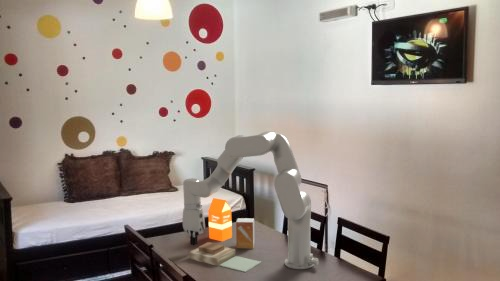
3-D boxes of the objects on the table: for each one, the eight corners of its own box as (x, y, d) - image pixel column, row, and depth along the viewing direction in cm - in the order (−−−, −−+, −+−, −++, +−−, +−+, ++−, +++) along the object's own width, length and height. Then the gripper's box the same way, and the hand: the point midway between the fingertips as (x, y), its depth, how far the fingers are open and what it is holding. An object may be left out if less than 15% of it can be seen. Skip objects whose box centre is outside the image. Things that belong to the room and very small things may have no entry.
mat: (261, 262, 204) (261, 261, 204) (245, 272, 194) (245, 271, 194) (235, 256, 212) (235, 255, 212) (219, 265, 202) (219, 264, 202)
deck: (235, 256, 212) (235, 249, 212) (217, 265, 202) (217, 258, 201) (207, 249, 221) (207, 243, 221) (189, 258, 210) (189, 251, 210)
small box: (236, 248, 222) (235, 221, 220) (238, 244, 228) (237, 217, 226) (253, 248, 221) (253, 222, 219) (254, 244, 227) (254, 218, 225)
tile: (224, 249, 212) (224, 245, 211) (214, 254, 206) (214, 250, 206) (208, 246, 217) (208, 242, 216) (198, 251, 211) (198, 246, 211)
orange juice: (222, 241, 232) (221, 202, 229) (209, 238, 237) (207, 199, 234) (232, 237, 238) (231, 198, 235) (219, 233, 243) (217, 196, 241)
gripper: (210, 206, 213) (211, 245, 216) (185, 201, 222) (187, 239, 224) (199, 210, 207) (201, 250, 210) (174, 205, 215) (176, 244, 218)
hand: (194, 244), depth 217 cm, fingers closed
